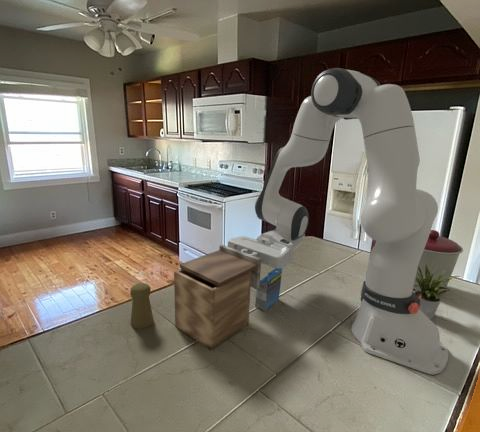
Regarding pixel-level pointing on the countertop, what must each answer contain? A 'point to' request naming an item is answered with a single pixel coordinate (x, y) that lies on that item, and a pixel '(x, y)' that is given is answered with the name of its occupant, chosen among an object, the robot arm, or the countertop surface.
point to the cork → (141, 306)
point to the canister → (439, 258)
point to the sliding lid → (225, 266)
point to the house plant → (430, 291)
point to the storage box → (211, 307)
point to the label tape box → (268, 290)
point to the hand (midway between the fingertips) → (240, 258)
